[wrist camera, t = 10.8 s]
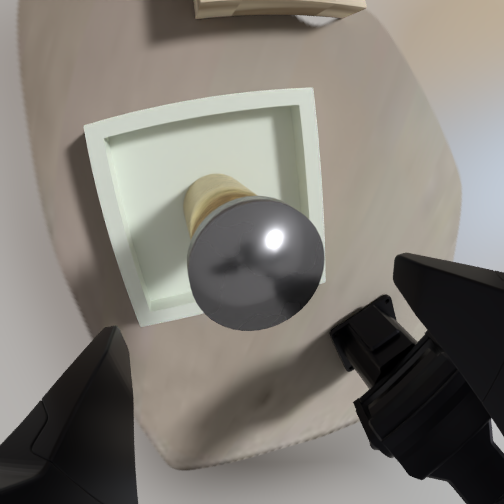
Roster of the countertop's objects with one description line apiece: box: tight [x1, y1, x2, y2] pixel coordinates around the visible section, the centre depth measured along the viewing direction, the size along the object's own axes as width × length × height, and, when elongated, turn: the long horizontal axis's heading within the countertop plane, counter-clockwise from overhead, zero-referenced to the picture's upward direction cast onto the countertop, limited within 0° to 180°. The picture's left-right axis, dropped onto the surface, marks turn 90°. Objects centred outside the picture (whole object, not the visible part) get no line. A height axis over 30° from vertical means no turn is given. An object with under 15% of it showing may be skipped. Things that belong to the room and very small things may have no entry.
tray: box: [84, 88, 326, 327], centre depth 19 cm, size 13×13×2 cm
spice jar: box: [183, 174, 325, 331], centre depth 15 cm, size 5×5×10 cm
